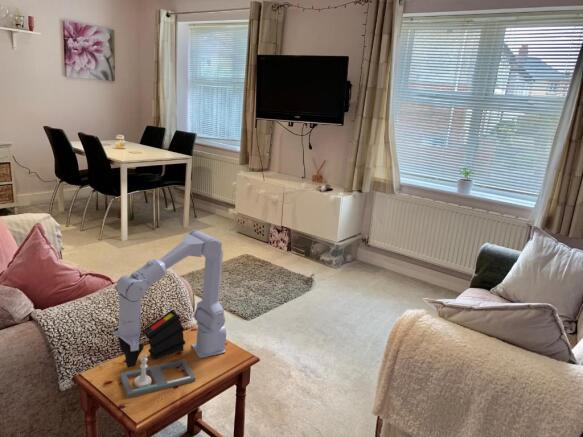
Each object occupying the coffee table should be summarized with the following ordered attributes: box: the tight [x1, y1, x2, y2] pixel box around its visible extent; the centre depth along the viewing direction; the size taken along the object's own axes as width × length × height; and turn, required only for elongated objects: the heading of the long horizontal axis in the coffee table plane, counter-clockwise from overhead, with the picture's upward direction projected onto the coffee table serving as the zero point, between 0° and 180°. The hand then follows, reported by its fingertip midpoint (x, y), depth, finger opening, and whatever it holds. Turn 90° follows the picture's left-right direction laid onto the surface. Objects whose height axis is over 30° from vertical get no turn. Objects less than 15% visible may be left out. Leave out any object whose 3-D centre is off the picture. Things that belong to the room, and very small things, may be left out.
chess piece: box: [134, 352, 153, 388], centre depth 128 cm, size 5×5×10 cm
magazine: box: [143, 309, 186, 361], centre depth 142 cm, size 4×13×15 cm, turn 133°
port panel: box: [119, 358, 196, 398], centre depth 132 cm, size 20×10×1 cm, turn 122°
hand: (128, 358), depth 124 cm, fingers open, 7 cm apart
